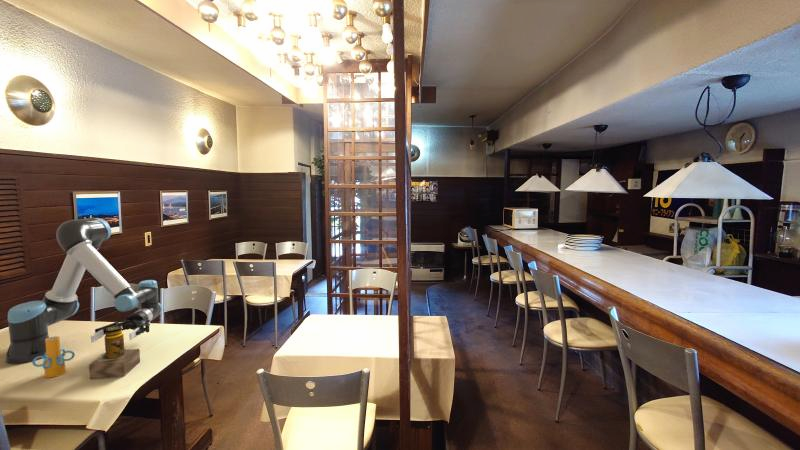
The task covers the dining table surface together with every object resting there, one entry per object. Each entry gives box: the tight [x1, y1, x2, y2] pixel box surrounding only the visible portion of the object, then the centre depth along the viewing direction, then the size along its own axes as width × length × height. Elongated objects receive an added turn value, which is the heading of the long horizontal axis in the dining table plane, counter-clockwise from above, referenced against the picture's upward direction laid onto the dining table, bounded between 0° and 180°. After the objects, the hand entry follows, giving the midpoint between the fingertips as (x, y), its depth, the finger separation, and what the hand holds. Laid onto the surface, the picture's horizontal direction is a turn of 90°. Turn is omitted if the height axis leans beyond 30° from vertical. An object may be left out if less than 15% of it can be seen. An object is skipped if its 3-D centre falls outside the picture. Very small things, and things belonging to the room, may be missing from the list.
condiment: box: [98, 326, 128, 362], centre depth 144 cm, size 7×8×12 cm
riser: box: [88, 348, 141, 380], centre depth 145 cm, size 12×12×6 cm
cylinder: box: [31, 335, 76, 378], centre depth 141 cm, size 12×10×15 cm
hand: (111, 338), depth 142 cm, fingers open, 13 cm apart
